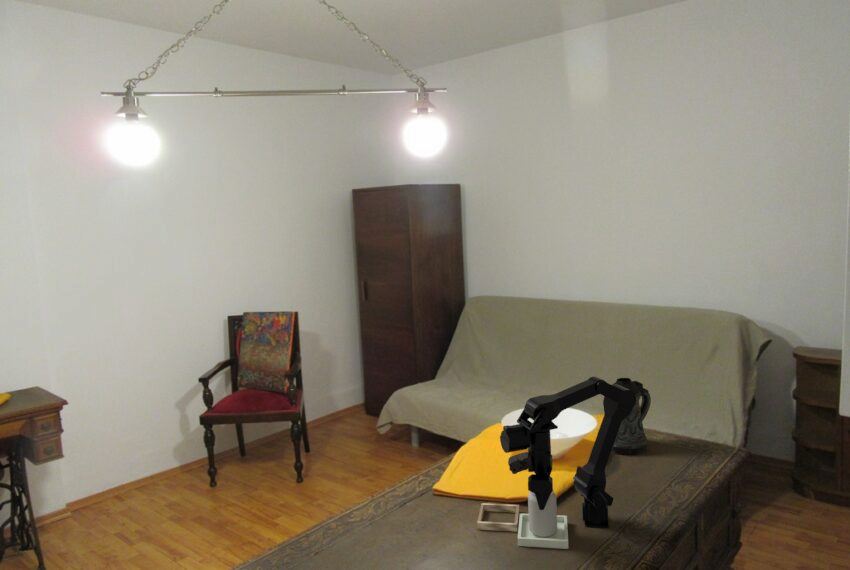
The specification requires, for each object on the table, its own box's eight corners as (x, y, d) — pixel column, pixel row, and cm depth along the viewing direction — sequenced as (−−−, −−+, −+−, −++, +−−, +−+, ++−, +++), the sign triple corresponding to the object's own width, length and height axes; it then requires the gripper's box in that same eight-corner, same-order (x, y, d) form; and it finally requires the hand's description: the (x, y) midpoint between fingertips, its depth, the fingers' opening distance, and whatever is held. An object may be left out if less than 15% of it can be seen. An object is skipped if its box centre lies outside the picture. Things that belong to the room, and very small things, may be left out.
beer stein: (591, 449, 214) (589, 382, 211) (613, 432, 228) (611, 369, 225) (637, 459, 203) (636, 389, 200) (656, 441, 218) (655, 375, 215)
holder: (519, 511, 173) (519, 504, 173) (517, 531, 162) (517, 524, 162) (481, 509, 176) (481, 503, 175) (477, 529, 165) (476, 522, 164)
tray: (567, 522, 165) (566, 515, 165) (568, 548, 153) (568, 541, 153) (520, 520, 168) (519, 513, 168) (517, 545, 156) (517, 538, 155)
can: (557, 540, 156) (556, 497, 155) (528, 538, 158) (527, 496, 156) (557, 525, 163) (555, 484, 162) (529, 523, 165) (528, 483, 163)
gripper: (511, 432, 168) (513, 484, 170) (507, 459, 150) (509, 517, 152) (551, 432, 166) (553, 485, 168) (551, 460, 148) (553, 519, 150)
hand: (541, 501), depth 159 cm, fingers open, 9 cm apart
